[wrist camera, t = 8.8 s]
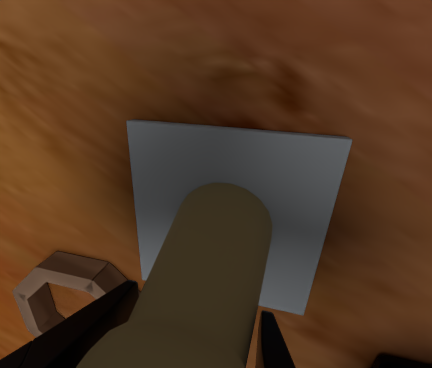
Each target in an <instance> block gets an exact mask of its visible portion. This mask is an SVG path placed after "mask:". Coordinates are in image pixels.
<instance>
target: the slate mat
mask: <svg viewBox="0 0 432 368" xmlns="http://www.w3.org/2000/svg"><path fill="white" fill-rule="evenodd" d="M126 123H127V133H128V143H129V153H130V163H131V173H132V183H133V193H134V203H135V213H136V223H137V233H138V243H139V253H140V263H141V273H142V280H147V278H148V276H149V273H150V271H151V269H152V267H153V265H154V262H155V260H156V258H157V256H158V253H159V251H160V249H161V247H162V245H163V242H164V240H165V238H166V236H167V234H168V231H169V229H170V227H171V225H172V223H173V220H174V218H175V216H176V214H177V212H178V209H179V207H180V205H181V203H182V202H183V201H184V199H185V198H186V197H187V195H188V194H189V193H191V192H192V191H194V190H195V189H197V188H198V187H200V186H203V185H207V184H211V183H231V184H234V185H236V186H239V187H242V188H245V189H247V190H248V191H250V192H251V193H252V194H254V195H255V196H256V197H258V198H259V199H260V200H261V201H262V203H263V204H264V206H265V207H266V208H267V210H268V211H269V214H270V218H271V221H272V224H273V228H272V239H271V244H270V249H269V254H268V259H267V264H266V269H265V274H264V279H263V284H262V289H261V294H260V299H259V304H258V305H259V306H263V307H268V308H272V309H277V310H281V311H286V312H290V313H295V314H299V315H304V311H305V308H306V304H307V301H308V297H309V294H310V290H311V286H312V283H313V279H314V276H315V272H316V269H317V265H318V261H319V258H320V254H321V251H322V247H323V244H324V240H325V236H326V233H327V229H328V226H329V222H330V219H331V215H332V211H333V208H334V204H335V201H336V197H337V194H338V190H339V186H340V183H341V179H342V176H343V172H344V169H345V165H346V161H347V158H348V154H349V151H350V147H351V144H352V139H350V138H349V137H343V136H331V135H319V134H307V133H294V132H282V131H270V130H258V129H245V128H233V127H221V126H209V125H197V124H184V123H172V122H160V121H148V120H135V119H133V120H128V121H126Z"/></svg>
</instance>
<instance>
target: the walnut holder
mask: <svg viewBox="0 0 432 368" xmlns="http://www.w3.org/2000/svg"><path fill="white" fill-rule="evenodd" d="M125 281H127V279H126V278H125V277H124V276H123V275H122V274H121V273H120V272H119V271H118V270H117V269H116V268H115V267H114V266H113V265H112V264H111V263H109V262H106V261H101V260H96V259H92V258H87V257H82V256H78V255H73V254H68V253H64V252H59V251H58V252H55V253H54V254H53V255H51V256H50V257H49V258H47V259H46V260H45V261H43V262H42V263H41V264H39V265H38V266H37V267H35V268H34V269H33V270H32V271H31V272H30V273H29V274H28V275H27V276H26V278H25V279H24V280H23V281H22V282H21V283H20V284H19V285H18V286H17V287H16V288H15V289H14V290H13V295H14V297H15V300H16V302H17V305H18V307H19V310H20V312H21V315H22V317H23V320H24V322H25V325H26V327H27V330H29V332H30V333H32V334H33V335H34V336H35V337H38V336H39V335H41V334H43V333H44V332H46V331H47V330H49V329H51V328H52V327H54V326H55V325H57V324H58V323H60V322H62V321H63V320H65V319H64V318H63V317H62V316H61V315H60V314H59V313H57V312H56V309H55V306H54V303H53V299H52V296H51V293H50V290H49V287H48V283H47V282H49V283H53V284H57V285H61V286H65V287H69V288H73V289H77V290H81V291H85V292H89V293H90V294H91V295H92V296H93V297H94V298H95V299H98V298H100V297H101V296H103V295H104V294H106V293H107V292H109V291H111V290H112V289H114V288H115V287H117V286H118V285H120V284H122V283H123V282H125ZM138 291H139V290H138ZM140 293H141V292H140V291H139V295H140Z"/></svg>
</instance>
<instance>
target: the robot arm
mask: <svg viewBox="0 0 432 368" xmlns="http://www.w3.org/2000/svg"><path fill="white" fill-rule="evenodd" d="M138 298H139V291H138V283H137V282H136V281H132V280H127V281H125V282H123V283H122V284H120V285H118V286H117V287H115V288H114V289H112V290H111V291H109V292H107V293H106V294H104V295H103V296H101V297H100V298H98V299H96V300H95V301H93V302H92V303H90V304H88V305H87V306H85V307H84V308H82V309H81V310H79V311H77V312H76V313H74V314H73V315H71V316H69V317H68V318H66V319H65V320H63V321H62V322H60V323H58V324H57V325H55V326H54V327H52V328H51V329H49V330H47V331H46V332H44V333H43V334H41V335H39V336H38V337H36V338H35V339H34V340H33V341H30V342H28V343H27V344H25V345H24V346H22V347H20V348H19V349H17V350H16V351H14V352H12V353H11V354H9V355H7V356H6V357H4V358H2V359H1V360H0V368H76V367H77V365H78V364H79V363H80V361H81V360H82V359H83V357H84V356H85V355H86V354H87V352H88V351H89V350H90V349H91V348H92V347H93V346H94V345H95V344H96V343H97V342H98V341H99V340H100V339H101V338H102V337H103V336H104V335H105V334H106V333H107V332H108V331H109V330H111V329H114V328H116V327H118V326H120V325H122V324H124V323H126V322H128V320H129V317H130V315H131V313H132V311H133V309H134V306H135V304H136V302H137V300H138ZM255 368H296V367H295V365H294V363H293V360H292V358H291V355H290V353H289V351H288V348H287V346H286V343H285V341H284V339H283V336H282V334H281V331H280V329H279V327H278V324H277V322H276V319H275V317H274V315H273V313H272V312H268V311H264V310H263V311H262V312H261V316H260V322H259V328H258V340H257V353H256V366H255ZM373 368H432V366H428V365H424V364H420V363H415V362H411V361H407V360H403V359H399V358H394V357H390V356H380V357H378V358H377V360H376V362H375V364H374V366H373Z"/></svg>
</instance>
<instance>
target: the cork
mask: <svg viewBox="0 0 432 368" xmlns="http://www.w3.org/2000/svg"><path fill="white" fill-rule="evenodd" d="M272 228H273V224H272V221H271V218H270V214H269V211H268V210H267V208H266V207H265V206H264V204H263V203H262V201H261V200H260V199H259V198H258V197H256V196H255V195H254V194H252V193H251V192H250V191H248V190H247V189H245V188H242V187H239V186H236V185H234V184H231V183H211V184H207V185H203V186H200V187H198V188H197V189H195V190H194V191H192V192H191V193H189V194H188V195H187V197H186V198H185V199H184V201H183V202H182V203H181V205H180V207H179V209H178V212H177V214H176V216H175V218H174V220H173V223H172V225H171V227H170V229H169V231H168V234H167V236H166V238H165V240H164V242H163V245H162V247H161V249H160V251H159V253H158V256H157V258H156V260H155V262H154V265H153V267H152V269H151V271H150V273H149V276H148V278H147V280H146V282H145V284H144V287H143V289H142V291H141V293H140V295H139V298H138V300H137V302H136V304H135V306H134V309H133V311H132V313H131V315H130V317H129V320H128V322H126V323H124V324H122V325H120V326H118V327H116V328H114V329H111V330H109V331H108V332H107V333H106V334H105V335H104V336H103V337H102V338H101V339H100V340H99V341H98V342H97V343H96V344H95V345H94V346H93V347H92V348H91V349H90V350H89V351H88V352H87V354H86V355H85V356H84V357H83V359H82V360H81V361H80V363H79V364H78V365H77V367H76V368H246V363H247V358H248V353H249V348H250V343H251V338H252V334H253V329H254V324H255V319H256V314H257V309H258V304H259V299H260V294H261V289H262V284H263V279H264V274H265V269H266V264H267V259H268V254H269V249H270V244H271V239H272Z"/></svg>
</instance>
